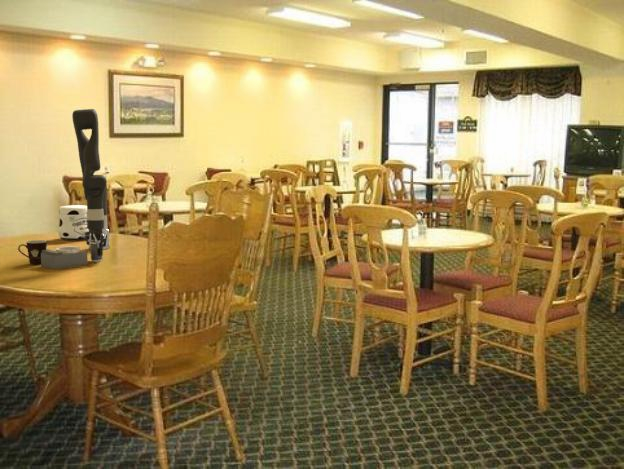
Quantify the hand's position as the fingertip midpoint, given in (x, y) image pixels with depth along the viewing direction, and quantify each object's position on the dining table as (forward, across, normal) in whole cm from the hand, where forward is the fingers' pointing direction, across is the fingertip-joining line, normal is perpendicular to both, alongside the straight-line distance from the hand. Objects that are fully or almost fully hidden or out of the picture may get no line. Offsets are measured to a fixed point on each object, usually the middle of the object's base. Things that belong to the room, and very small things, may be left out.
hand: (96, 255), depth 327 cm
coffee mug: (+3, +15, +22) cm, 27 cm away
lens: (+3, 0, 0) cm, 3 cm away
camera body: (+3, +1, +16) cm, 16 cm away
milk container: (+3, +63, -31) cm, 70 cm away
